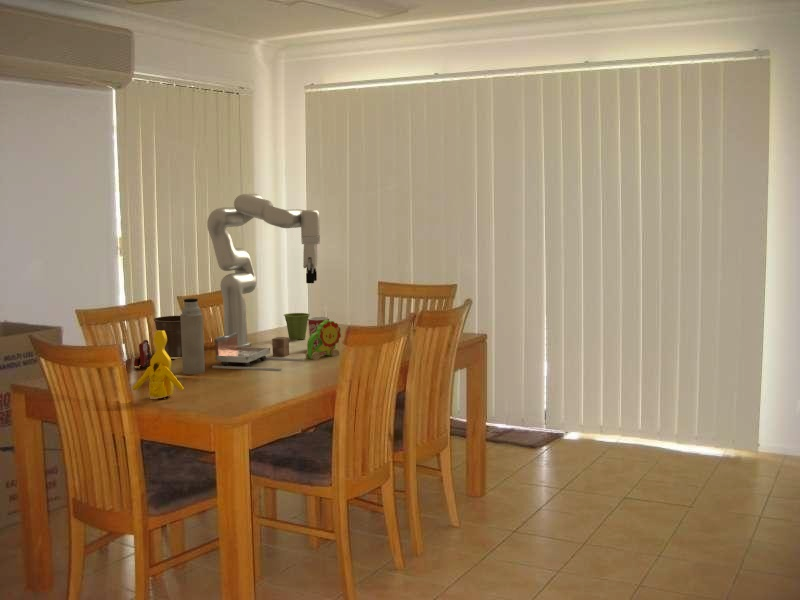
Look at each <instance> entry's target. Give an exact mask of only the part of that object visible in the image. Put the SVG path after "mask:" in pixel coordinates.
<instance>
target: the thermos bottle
mask: <svg viewBox="0 0 800 600" xmlns="http://www.w3.org/2000/svg"><path fill="white" fill-rule="evenodd" d="M183 302H184V304H183V307H182V309H181V314H180V315H179V316H180V319H181V341H182V358H181V360H182V361H181V363H182V373H183V374H184V375H197V374H202V373H205V371H206V365H205V364H206V363H205V343H204V342H205V341H204V339H205V338H204V337H205V336H204V320H203V318H204V316H203V313H202V312H201V311H202V310H201V307H200V306H199V303H198V298H184V299H183Z"/></svg>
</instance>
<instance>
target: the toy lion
mask: <svg viewBox="0 0 800 600" xmlns="http://www.w3.org/2000/svg"><path fill="white" fill-rule="evenodd" d="M341 337H342V333H341V327H340V326H339V324H338V322H335V321H334V320H329V321H328V320H324V321H323V322H322V323H320V324H319V326H318V328H317V329H316V332H315V333H313V334H312V335H311V336H310V335H309V338H308V340H307V346H306V347H307V351H306V352H305V358H306V359H311V360H315V361H316V360H319V359H321V356H323V355H325V356H330V357H336V356H339V355H340V350H339V349H337V348H336V345H337V344H338V343H339V342H340V338H341ZM316 338H318V340H319V345H318V346H317V347H316V348H315V349H314V348H313V343H314V340H315V339H316Z"/></svg>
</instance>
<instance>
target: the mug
mask: <svg viewBox="0 0 800 600" xmlns="http://www.w3.org/2000/svg"><path fill="white" fill-rule="evenodd" d="M324 320H328V321H330V317H329V316H312V317H309V318H308V330H309V331H308V332H309V333H308V334H309V337H310V336H311V335H312V334H313V333H315V332H316V329H317V328H318V326H319V324H320V323H322V322H323V321H324ZM318 345H319V340H318V338H316V339H315V340H314V343H313V348H314V349H315V348H316V347H317V346H318Z"/></svg>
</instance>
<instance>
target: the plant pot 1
mask: <svg viewBox="0 0 800 600" xmlns="http://www.w3.org/2000/svg"><path fill="white" fill-rule="evenodd" d="M153 322H154V325H155V329H156V331H158V330H160V331H163V330H164V331H165V333H166V336H167V343H166V346H165V351H166V353H167V354H168V355H169V357H182V341H181V319H180V315H166V316H158V317H155V318H153Z"/></svg>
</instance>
